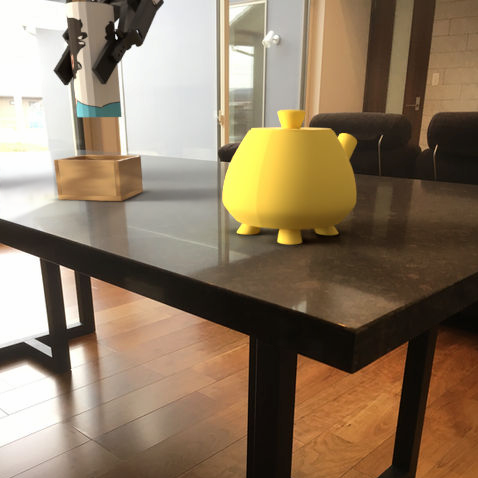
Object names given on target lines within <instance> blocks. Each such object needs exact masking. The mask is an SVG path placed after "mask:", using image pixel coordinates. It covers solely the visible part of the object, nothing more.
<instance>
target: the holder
mask: <svg viewBox="0 0 478 478" xmlns="http://www.w3.org/2000/svg"><path fill="white" fill-rule="evenodd" d="M53 164H54V165H53V166H54V173H55V181H56V189H57V196H58V200H60V201H62V200H64V201H98V202H99V201H100V202H101V201H103V202H123V201H126V200H128V199H130V198H132V197H134V196H136V195H139V194H141V193H143V192H144V187H143V186H144V184H143V171H142V170H143V169H142V156H141V155H129V154H128V155H127V154H124V155H123V154H120V155H119V154H80V155H79V154H78V155H73V156H67V157H63V158H57V159H53Z"/></svg>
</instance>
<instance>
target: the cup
mask: <svg viewBox="0 0 478 478" xmlns="http://www.w3.org/2000/svg"><path fill="white" fill-rule="evenodd" d="M65 13H66V21H67V22H66V23H67V28H68V33H69V42H70V51H71V61H72V70H73V78H72V80H73V88H74V97H75V106H76V116H77V118H122V117H123V116H122V104H121V90H120V78H119V63H118V64H117V65H116V67H115V69H114V71H113V72H112V74H111V76H110V78H109V79H108V81H107V83H106V84H101V83H100V81H99V80H98V78H97V77H96V75H95V74H94V72H93V71H92V67H93V65H94V63H95V62H96V60H97V58H98V57H99V55H100V53H101V51H102V50H103V48H104V46H105V44H106V43H107V41H108V39H109V38H110V36H115V38H116V39H117V36H116V34H115V33H114V31H116V30H115V29H116V26H115V24H116V23H114V10H113V6H111V5H108V4H104V3H97V2H86V1H71V2H67V3H65ZM113 30H114V31H113Z"/></svg>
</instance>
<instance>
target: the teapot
mask: <svg viewBox="0 0 478 478" xmlns="http://www.w3.org/2000/svg"><path fill="white" fill-rule="evenodd" d="M306 114H307V111H306V110H303V109H280V110H278V111H277V116H278V120H279V123H280V127H279V126H278V127H277V126H275V127H252V128H251V129H249V130H248V131H247V133H246V134H245V136H244V138H243V139H242V141H241V142H240V144H239V146H238V148H236V151H235V153H234V155H233V156H232V158H231V161H230V163H229V165H228V168H227V171H226V173H225V177H224V181H223V187H222V204H223V206H224V207H225V209H226V210H227V211H228V213H229V214H230V216H232V217H233V218H234V220H235V221H237V222H239V223H240V227H239V228H238V229H237V230H236V233H237V234H240V235H257V234H259V233H260V232H261V230H262V228H264V229H271V230H272V229H273V230H278V233H277V243H279V244H281V245H298V244H302V243H303V238H302V232H301V231H302V230H314V232H315V234H317V235H321V236H336V235H338V234H339V232H338V230H337V228H336V227H335V226H336V225H339V224H340V223H342V221H344V220H345V218H347V217H348V215H349V214H350V213H351V212H352V211H353V210H354V208H355V206H356V204H357V195H358V193H357V183H356V176H355V174H354V170H353V167H352V164H351V161H350V160H351V157H352V156H353V153H354V151H355V149H356V147H357V144H358V140H357V138H356V137H355V136H354V135H352V134H349V133H343V132H342V133H339V135H337V134H336V132H335V131H334V130H332V128H328V127H302V125H303V123H304V120H305V117H306Z"/></svg>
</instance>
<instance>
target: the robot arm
mask: <svg viewBox="0 0 478 478" xmlns="http://www.w3.org/2000/svg"><path fill="white" fill-rule="evenodd" d="M85 2H97V3H104V4H108V5H111V6H113V10H114V24H116V22H117V21H118V23H117V27H116V28H115V31H114V30H113V31H114V33H115V36H110V38H109V39H108V41H107V43H106V44H105V46H104V48H103V50H102V51H101V53H100V55H99V57H98V58H97V60H96V62H95V63H94V65H93V67H92V71H93V72H94V74H95V75H96V77H97V78H98V80H99V81H100V83H101V84H106V83H107V81H108V79H109V78H110V76H111V74H112V72H113V71H114V69H115V67H116V65H117V64H118V65H119V63H120V62H121V61H122V59H123V57H124V56H125V54H126V53H127V51H130V50H131V49H132V47H133V46H134V45H135V47H136V48H139V47H141V46H142V45H143V44H144V42H145V40H146V38H147V35H148V33H149V31H150V28H151V26H152V24H153V21H154V19H155V17H156V14H157V12H158V11H159V10H160V8H162V6H163V5H164V3H165V1H164V0H85ZM61 36H62V38H63V39H64V42H65V43H66V44H67V46H66V48H65V49H64V51H63V52H62V54H61V57H60V59H59V60H58V62H57V64H56V65H55V67H54V68H53V70H52V71H53V72H54V74H55V75H56V77H57V78H58V79H59V80H60V82H61V83H62V84H63V85H64V86H69V85H70V83H71V81H72V80H73V70H72V61H71V51H70V42H69V33H68V27H66V29H65V31H64V32H63V34H62V35H61ZM115 37H116V38H115Z"/></svg>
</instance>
